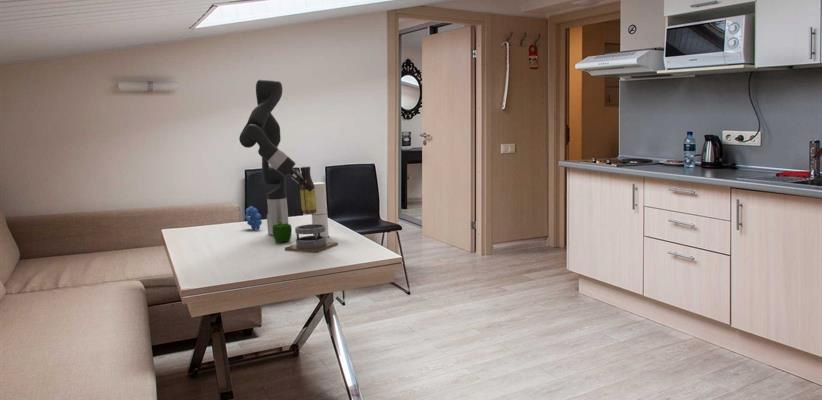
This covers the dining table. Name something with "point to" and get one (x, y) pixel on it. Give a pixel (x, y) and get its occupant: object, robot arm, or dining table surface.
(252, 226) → the grapes
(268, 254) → the dining table surface
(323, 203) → the cylindrical container
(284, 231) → the bell pepper
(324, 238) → the collar stand
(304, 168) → the sauce bottle
